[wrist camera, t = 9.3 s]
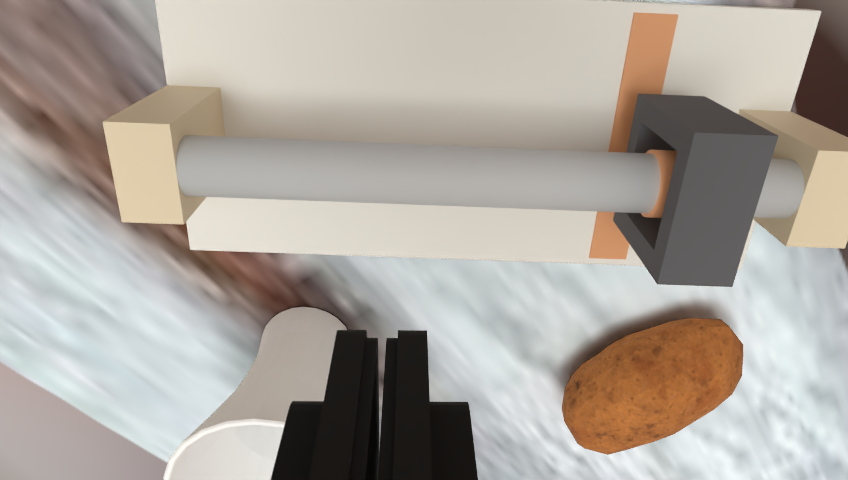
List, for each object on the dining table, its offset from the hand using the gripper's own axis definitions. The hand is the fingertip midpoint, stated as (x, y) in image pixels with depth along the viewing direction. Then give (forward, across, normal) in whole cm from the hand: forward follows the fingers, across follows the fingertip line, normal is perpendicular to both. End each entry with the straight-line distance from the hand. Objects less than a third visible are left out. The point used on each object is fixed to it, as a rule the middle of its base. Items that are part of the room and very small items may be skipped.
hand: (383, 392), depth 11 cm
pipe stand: (+27, -5, +3) cm, 28 cm away
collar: (+23, -14, +3) cm, 27 cm away
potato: (+27, -17, +20) cm, 37 cm away
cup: (+27, +7, +19) cm, 34 cm away
